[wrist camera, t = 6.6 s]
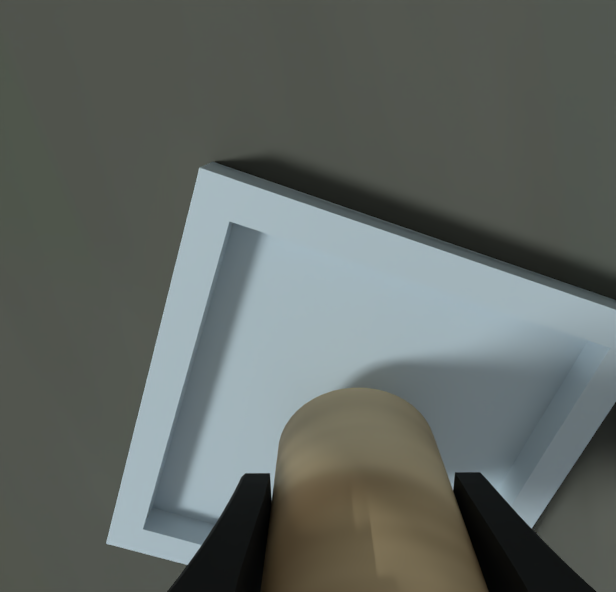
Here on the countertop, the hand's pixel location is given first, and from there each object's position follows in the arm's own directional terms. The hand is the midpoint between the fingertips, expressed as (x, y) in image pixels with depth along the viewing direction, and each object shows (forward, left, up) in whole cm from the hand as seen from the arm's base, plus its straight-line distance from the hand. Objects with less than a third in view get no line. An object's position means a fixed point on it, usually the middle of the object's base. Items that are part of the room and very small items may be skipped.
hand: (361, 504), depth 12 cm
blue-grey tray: (0, 0, -4) cm, 4 cm away
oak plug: (0, 0, -2) cm, 2 cm away
